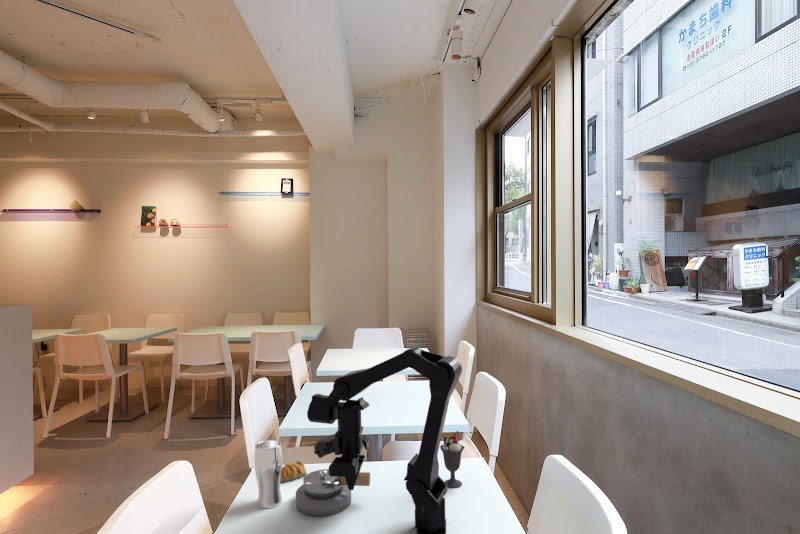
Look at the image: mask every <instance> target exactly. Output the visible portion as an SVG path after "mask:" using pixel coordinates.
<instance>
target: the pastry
mask: <svg viewBox="0 0 800 534" xmlns="http://www.w3.org/2000/svg"><path fill="white" fill-rule="evenodd" d="M307 474H308V473H307V469H306V467H305V464H304V463H303V461H301V460H297V461H295V462H291V463H287V464H284V466H282V473H281V480H280V484H282V482H283V483H290V482H289V481H291V482H293V480H294V481H297V480H299V479H300V478H301V479H303V478H304V477H305V476H306V475H307ZM302 477H303V478H302ZM296 479H297V480H296Z"/></svg>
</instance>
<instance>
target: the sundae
mask: <svg viewBox="0 0 800 534" xmlns="http://www.w3.org/2000/svg"><path fill="white" fill-rule="evenodd" d="M457 434H459V430H456V432H455V433H453V434H452V435H451V436H449V437H448V436H444V437H443V444H440V445H439V449H440V450H441V452H442V455H443V461H444V466H445V467H444V468H446V470H447V471H449V472H450V479H449V478H448V479H446V480H445V481H444V482H445V483H446V484H447V486H448V489H457V488H460V487H461V486H462V485H463V483H462V481H461V480H459V479H456V473H455V472H457V471H458V470H459V468H460V465H461V460H462V453H463V451H464V449H465V446H464V445H463V444H461V443H460V442H459V440H458V438H457Z"/></svg>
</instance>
